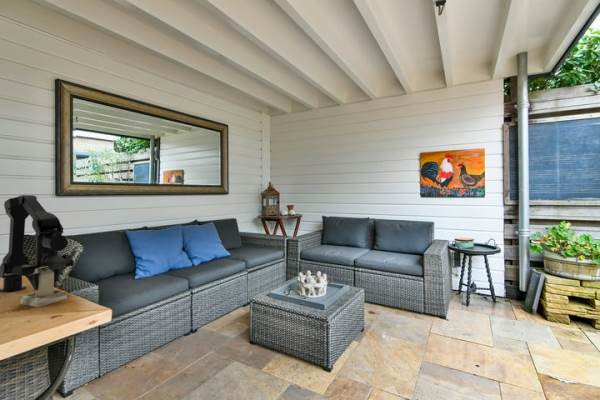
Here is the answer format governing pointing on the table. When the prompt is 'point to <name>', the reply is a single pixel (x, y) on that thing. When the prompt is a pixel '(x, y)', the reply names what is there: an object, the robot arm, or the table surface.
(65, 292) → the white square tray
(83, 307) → the table surface
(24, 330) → the table surface
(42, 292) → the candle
